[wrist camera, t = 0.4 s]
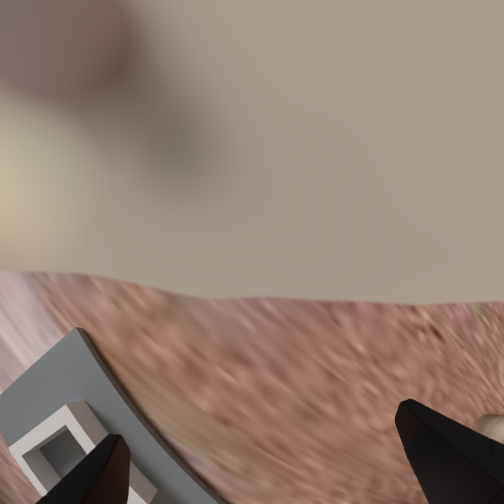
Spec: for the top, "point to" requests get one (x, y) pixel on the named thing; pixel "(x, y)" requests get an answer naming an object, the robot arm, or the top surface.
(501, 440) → the birch pin
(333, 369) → the top surface
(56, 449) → the socket board
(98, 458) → the robot arm
